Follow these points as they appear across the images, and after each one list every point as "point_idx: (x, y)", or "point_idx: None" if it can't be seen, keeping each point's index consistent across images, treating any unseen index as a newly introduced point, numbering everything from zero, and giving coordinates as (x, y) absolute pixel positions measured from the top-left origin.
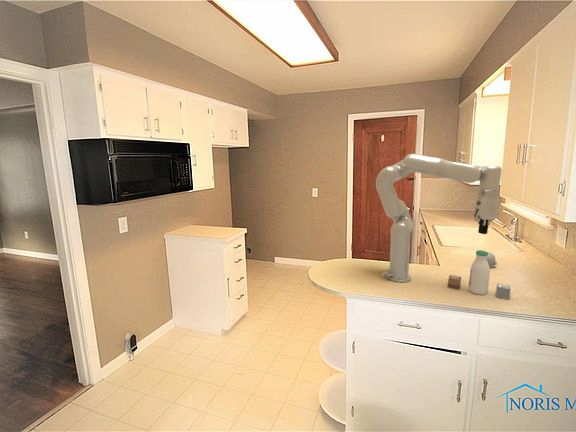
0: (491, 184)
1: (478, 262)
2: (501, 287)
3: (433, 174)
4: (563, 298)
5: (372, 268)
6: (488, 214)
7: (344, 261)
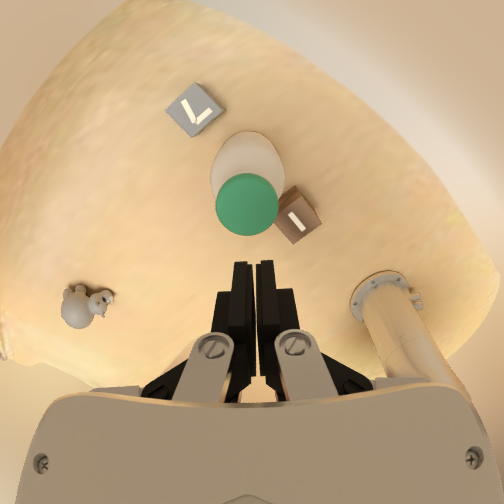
0: None
1: (275, 179)
2: (209, 103)
3: None
4: (57, 81)
5: None
6: (356, 499)
7: None
